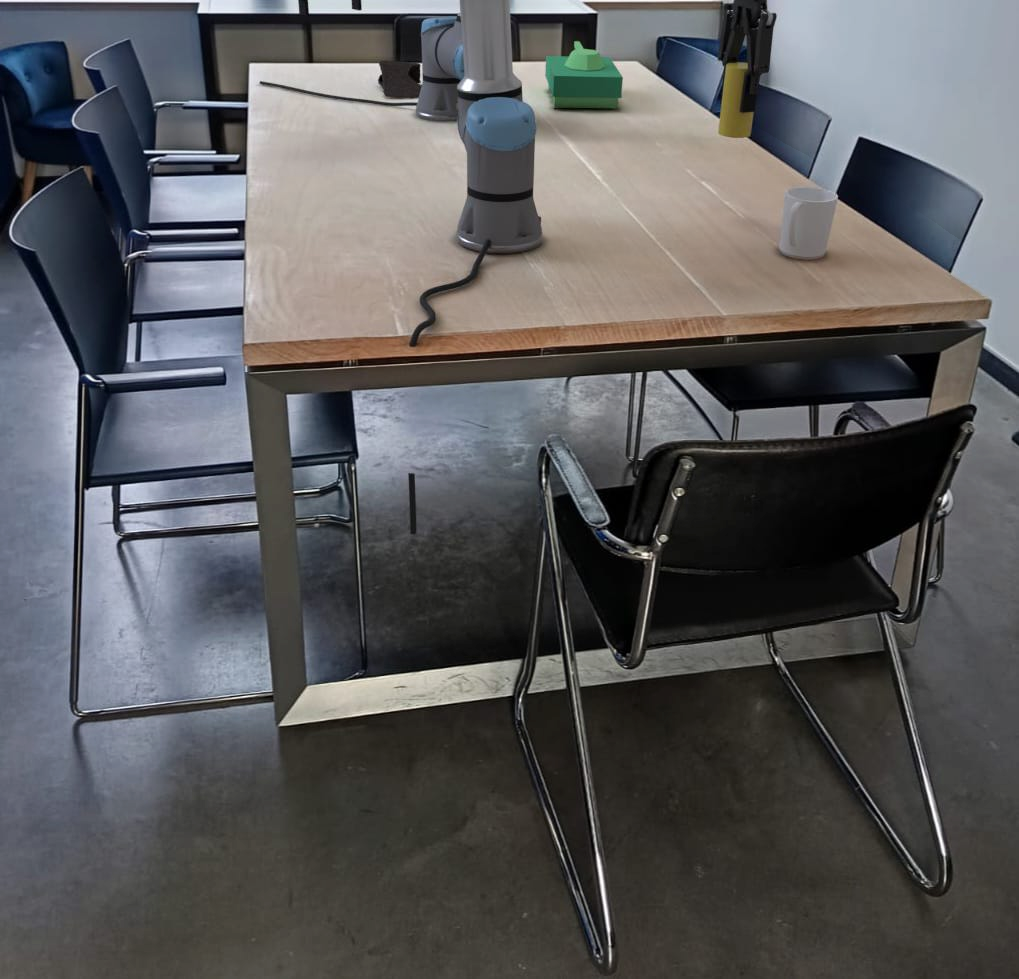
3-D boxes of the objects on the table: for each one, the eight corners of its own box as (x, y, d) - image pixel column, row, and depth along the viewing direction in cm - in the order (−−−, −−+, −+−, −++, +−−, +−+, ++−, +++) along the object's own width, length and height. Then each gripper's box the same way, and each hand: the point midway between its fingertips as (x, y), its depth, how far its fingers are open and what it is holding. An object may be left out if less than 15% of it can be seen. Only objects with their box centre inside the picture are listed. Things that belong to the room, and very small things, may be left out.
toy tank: (607, 38, 308) (624, 61, 278) (604, 83, 314) (620, 111, 284) (544, 36, 307) (554, 60, 277) (542, 82, 313) (552, 110, 283)
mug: (790, 240, 199) (799, 183, 193) (836, 251, 194) (846, 193, 188) (761, 255, 191) (769, 197, 186) (808, 267, 186) (818, 208, 181)
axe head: (443, 87, 294) (392, 77, 287) (436, 115, 299) (385, 106, 292) (421, 62, 307) (371, 52, 300) (414, 89, 311) (365, 80, 304)
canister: (755, 137, 203) (764, 68, 196) (724, 138, 202) (732, 68, 195) (743, 129, 208) (752, 62, 201) (713, 130, 207) (721, 62, 200)
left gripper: (281, -96, 218) (290, 19, 229) (383, -99, 232) (387, 9, 244) (262, -98, 223) (271, 14, 234) (363, -101, 237) (368, 5, 248)
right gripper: (804, -24, 184) (783, 118, 196) (743, -37, 199) (727, 95, 211) (766, -23, 181) (747, 120, 193) (707, -36, 196) (693, 98, 208)
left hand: (330, 12), depth 239 cm, fingers open, 13 cm apart
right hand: (737, 107), depth 202 cm, fingers closed on canister, 6 cm apart
